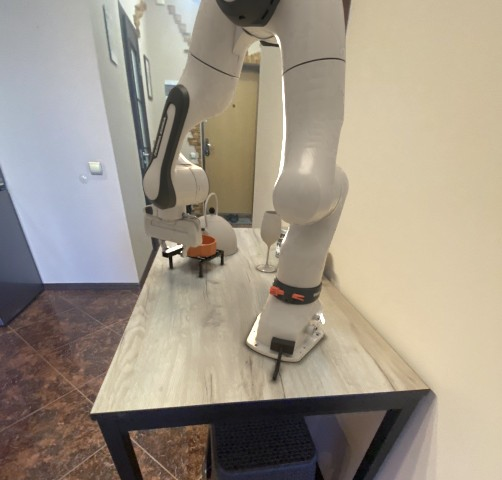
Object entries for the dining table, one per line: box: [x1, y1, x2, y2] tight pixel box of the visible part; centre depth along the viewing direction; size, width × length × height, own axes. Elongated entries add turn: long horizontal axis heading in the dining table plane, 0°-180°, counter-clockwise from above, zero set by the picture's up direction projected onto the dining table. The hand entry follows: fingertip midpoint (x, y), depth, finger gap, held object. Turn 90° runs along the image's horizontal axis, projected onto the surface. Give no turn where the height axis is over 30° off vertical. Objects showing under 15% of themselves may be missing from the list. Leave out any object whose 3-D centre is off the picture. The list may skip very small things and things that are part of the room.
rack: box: [168, 249, 225, 278], centre depth 107 cm, size 16×14×6 cm
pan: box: [161, 234, 216, 259], centre depth 101 cm, size 25×14×4 cm, turn 155°
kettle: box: [197, 192, 238, 258], centre depth 121 cm, size 25×23×23 cm
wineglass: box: [256, 210, 282, 273], centre depth 107 cm, size 8×8×21 cm
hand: (174, 254), depth 95 cm, fingers open, 6 cm apart
